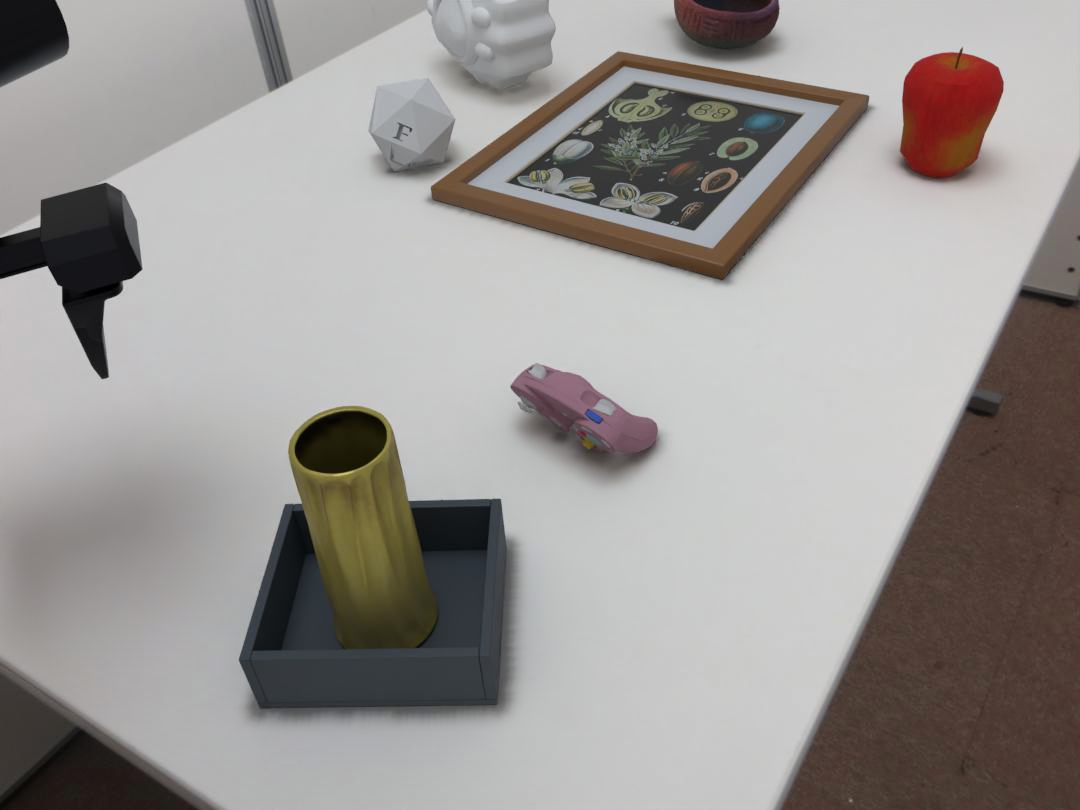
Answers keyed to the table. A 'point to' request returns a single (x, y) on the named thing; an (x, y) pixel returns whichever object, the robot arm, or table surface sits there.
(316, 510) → the vase
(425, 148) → the die
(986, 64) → the apple
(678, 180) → the picture frame
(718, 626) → the table surface
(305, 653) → the bin
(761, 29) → the bowl
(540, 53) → the white ridged sculpture
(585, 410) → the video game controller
